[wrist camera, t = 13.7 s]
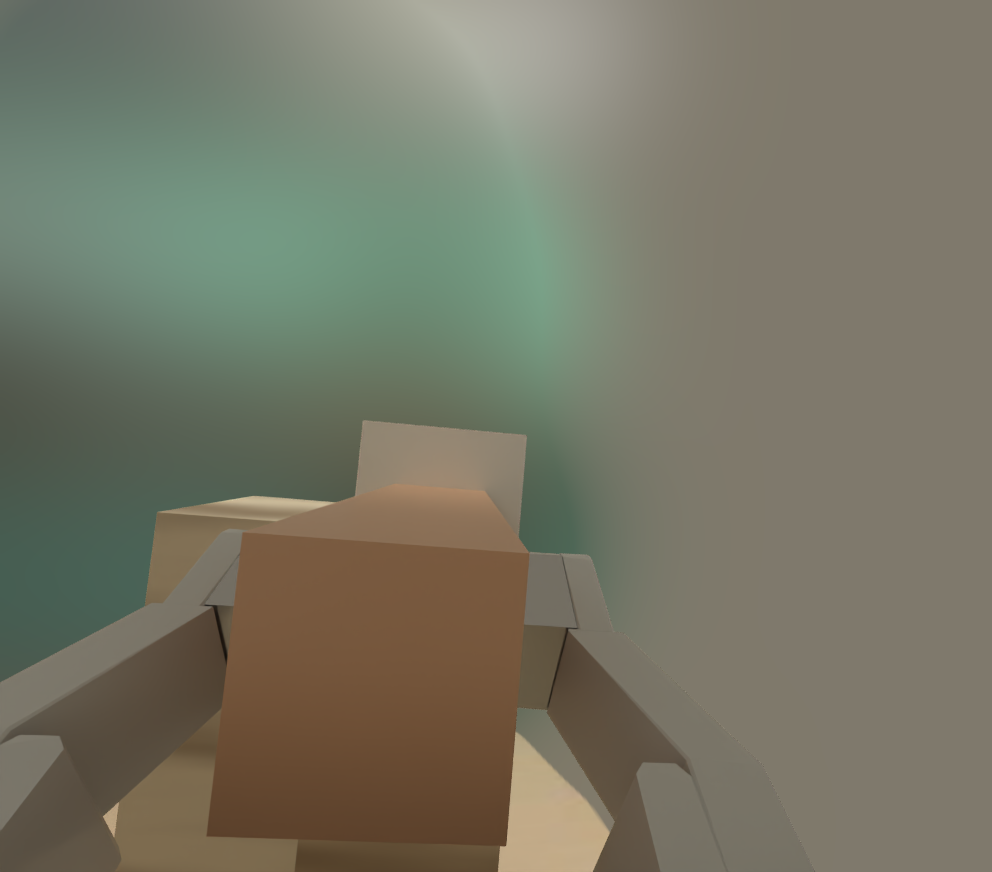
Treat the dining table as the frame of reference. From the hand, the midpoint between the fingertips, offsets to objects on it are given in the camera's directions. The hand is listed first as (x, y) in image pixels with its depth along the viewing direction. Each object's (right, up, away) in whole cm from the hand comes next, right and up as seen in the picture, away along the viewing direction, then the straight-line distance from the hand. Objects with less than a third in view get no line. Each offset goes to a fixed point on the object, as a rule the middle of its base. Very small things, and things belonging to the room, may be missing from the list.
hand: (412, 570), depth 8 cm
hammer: (-1, -2, +5) cm, 5 cm away
